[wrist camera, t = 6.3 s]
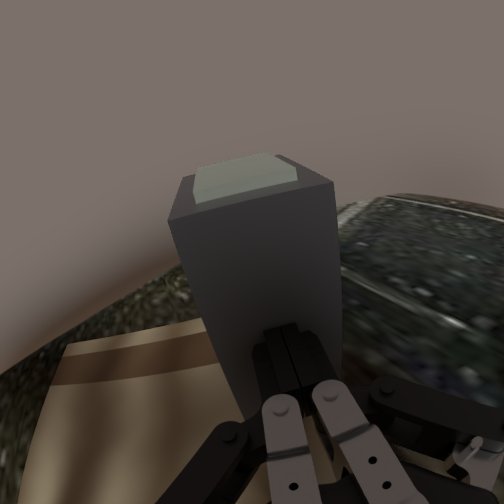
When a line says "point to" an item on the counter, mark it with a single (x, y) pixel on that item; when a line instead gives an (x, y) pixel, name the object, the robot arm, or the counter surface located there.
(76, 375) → the subfloor panel
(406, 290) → the counter surface
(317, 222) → the grey tall block
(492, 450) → the robot arm
